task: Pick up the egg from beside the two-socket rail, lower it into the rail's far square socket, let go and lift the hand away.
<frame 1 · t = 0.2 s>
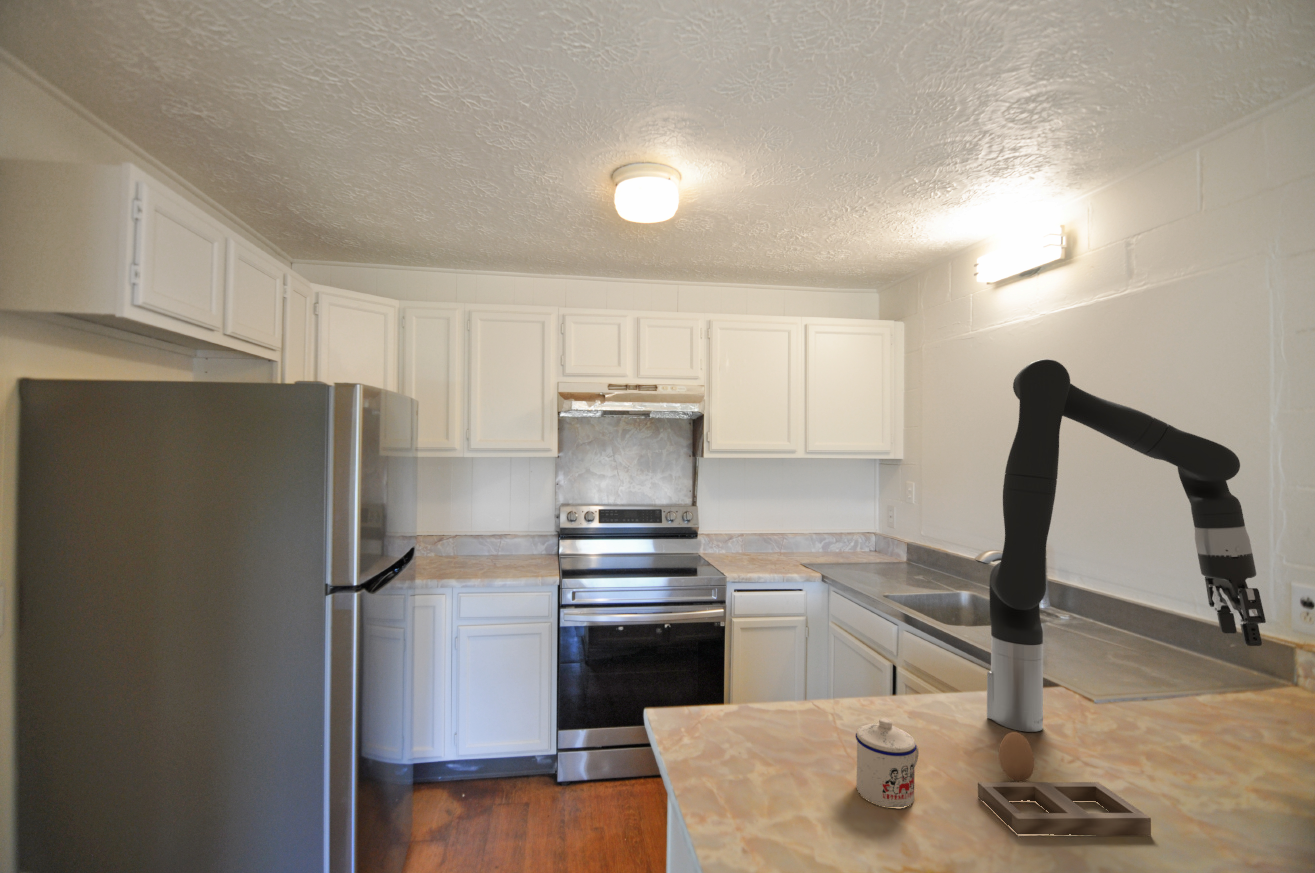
hand: (1240, 638, 109), 22 cm above the worktop, tool pointing down, fingers open, 8 cm apart
teacup with lid: (891, 793, 94), on the worktop
egg: (1016, 781, 99), on the worktop
egg rail: (1060, 815, 89), on the worktop
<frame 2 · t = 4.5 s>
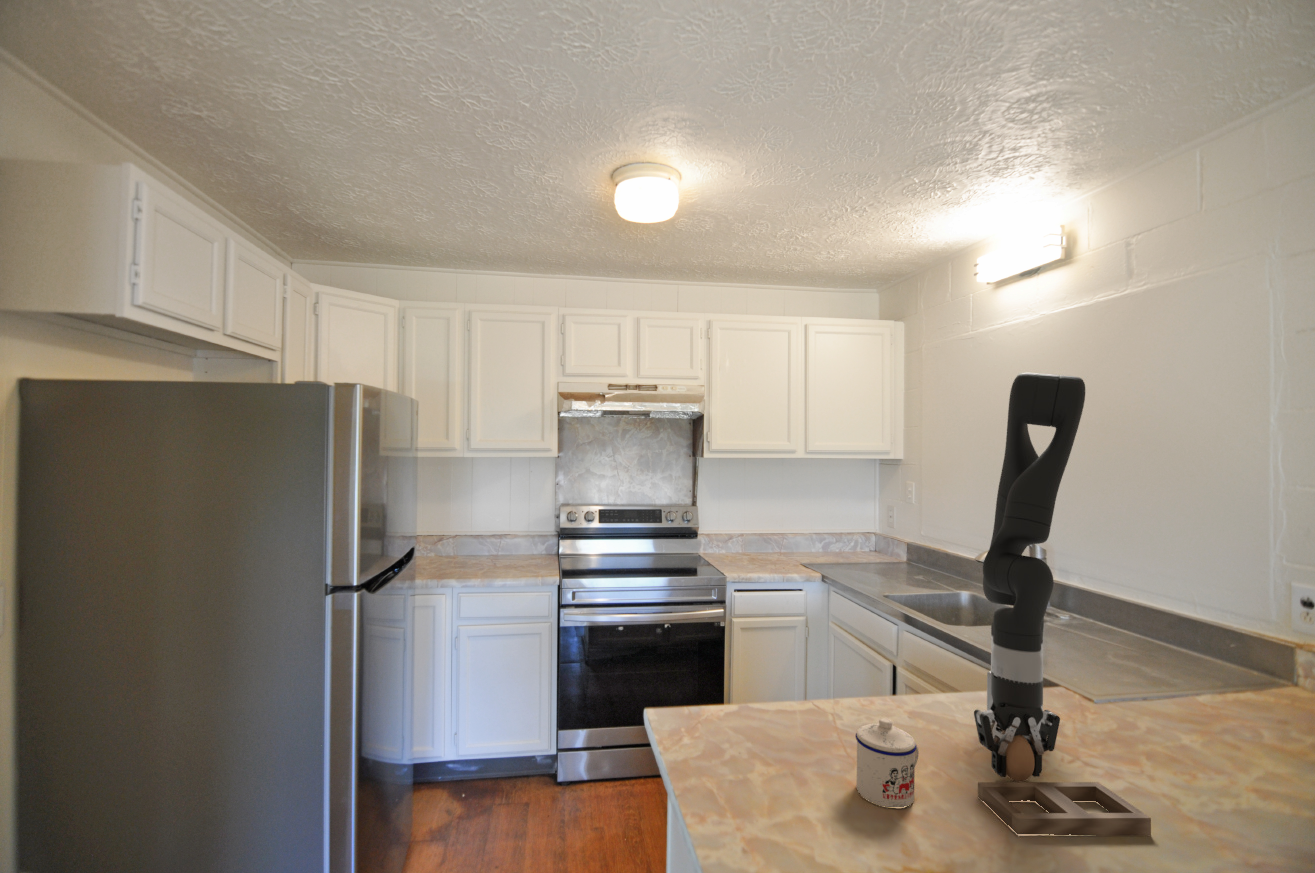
hand: (1016, 773, 99), 1 cm above the worktop, tool pointing down, fingers closed on egg, 5 cm apart
egg: (1016, 781, 99), on the worktop, touching gripper
everything else where it was.
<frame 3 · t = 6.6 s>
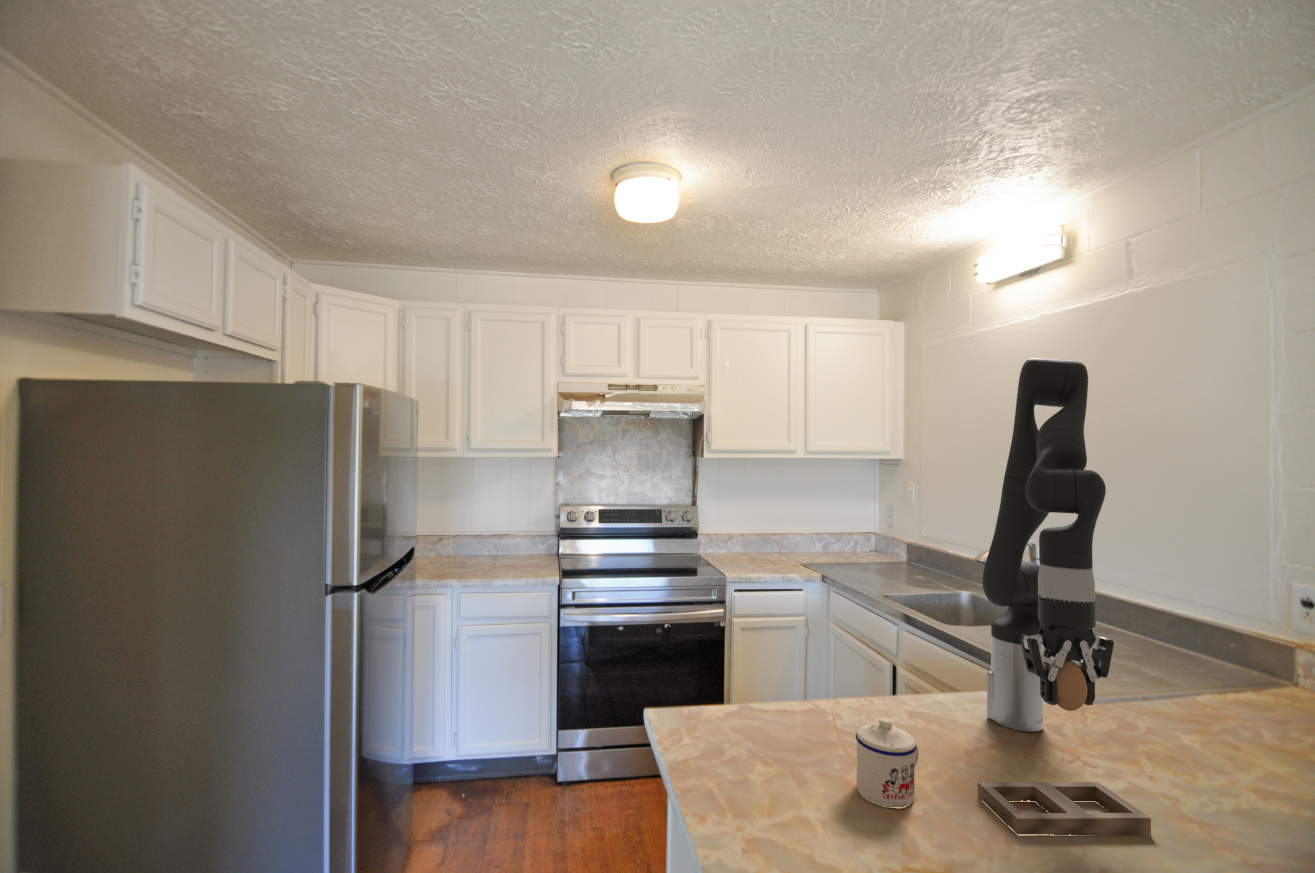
hand: (1067, 702, 93), 16 cm above the worktop, tool pointing down, fingers closed on egg, 5 cm apart
egg: (1067, 711, 93), point 15 cm above the worktop, touching gripper
everything else where it was.
when the fingers open (3 cm above the worktop, at t = 9.1 s): egg drops 2 cm, resting in egg rail.
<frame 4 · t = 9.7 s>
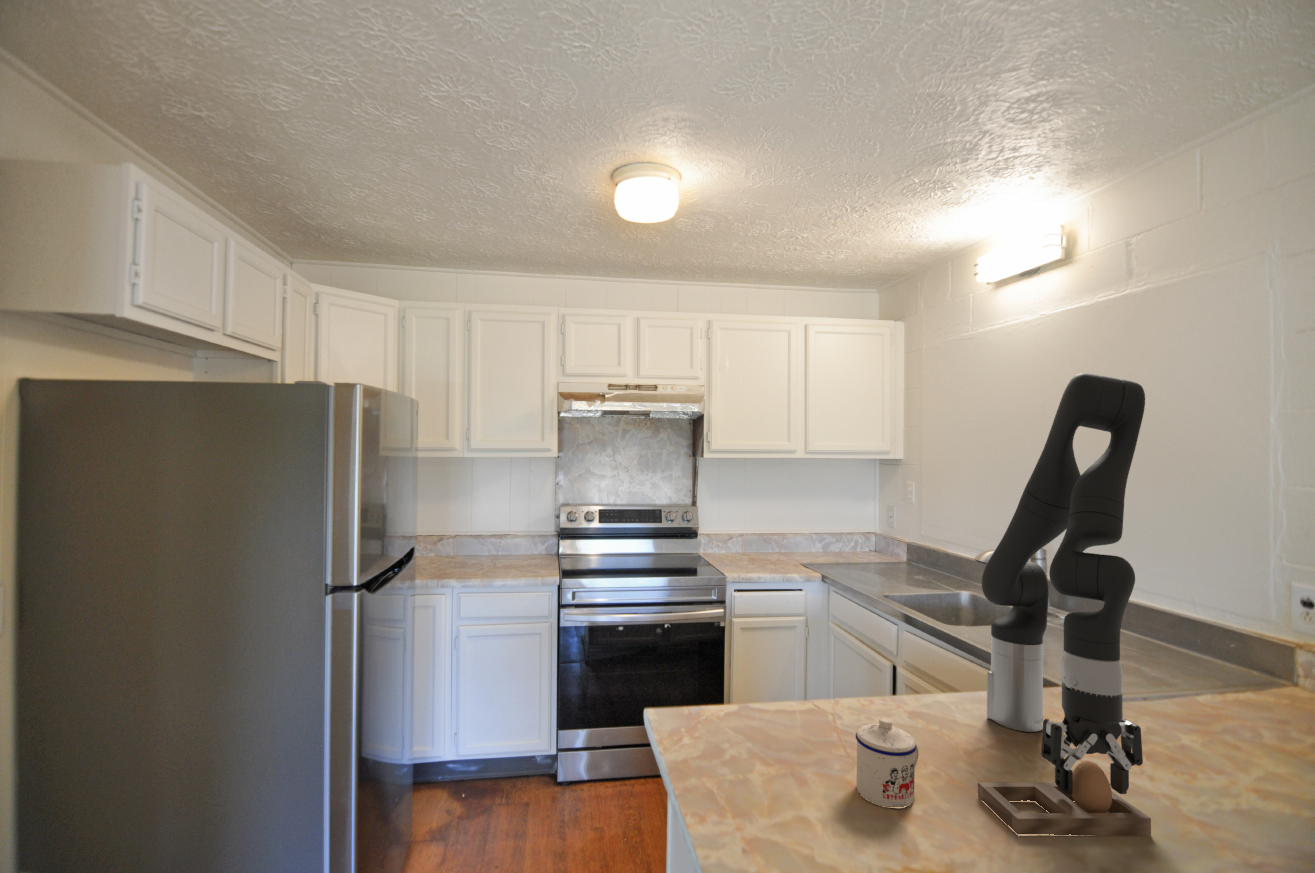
hand: (1091, 791, 90), 4 cm above the worktop, tool pointing down, fingers open, 8 cm apart
egg: (1091, 816, 89), resting in egg rail
everything else where it was.
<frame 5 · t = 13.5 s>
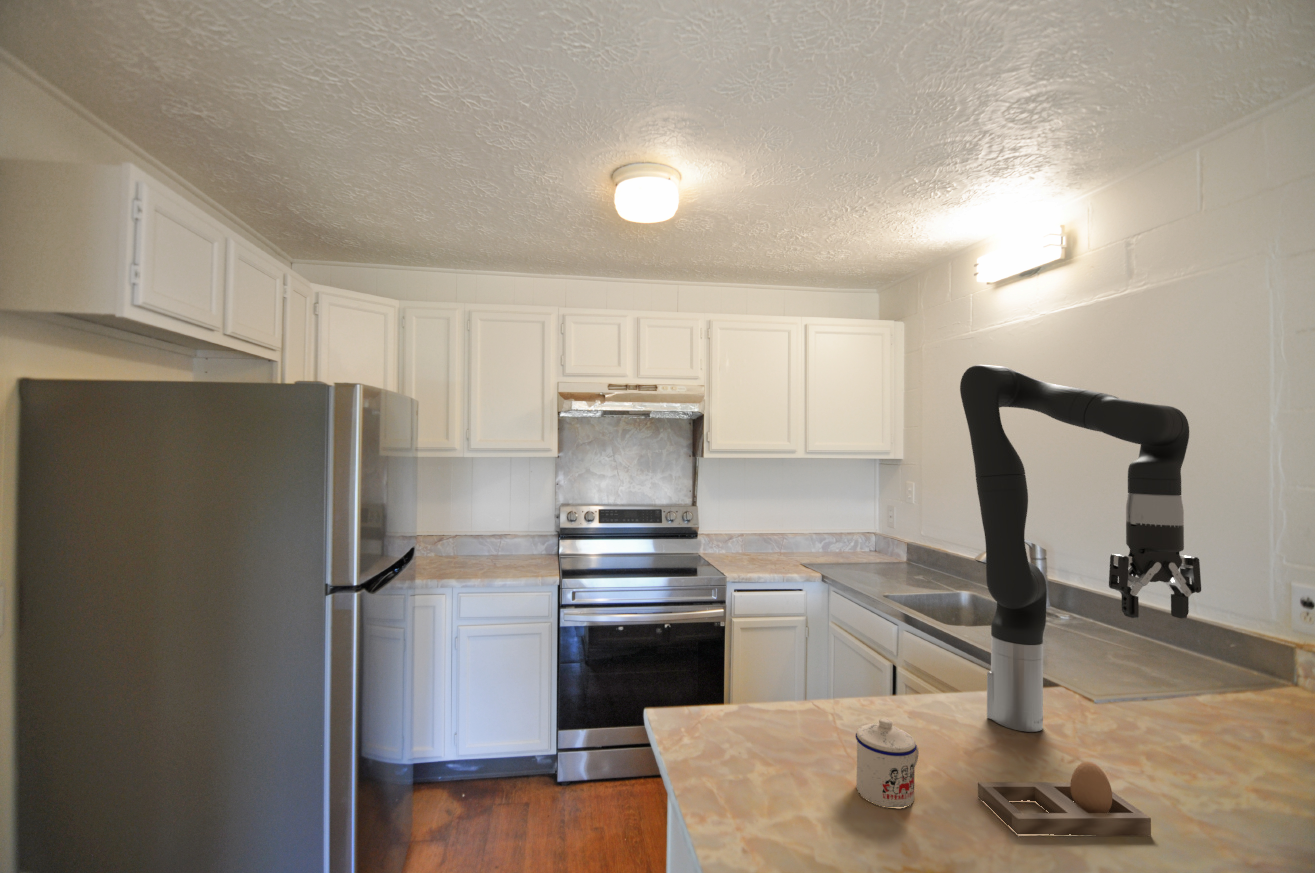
hand: (1154, 617, 99), 28 cm above the worktop, tool pointing down, fingers open, 8 cm apart
nothing on the worktop moved.
at the end: egg 0.1 cm from the target spot on the egg rail, point 0.0 cm above the egg rail's base; egg tilted 0°; the gripper is holding nothing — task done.
